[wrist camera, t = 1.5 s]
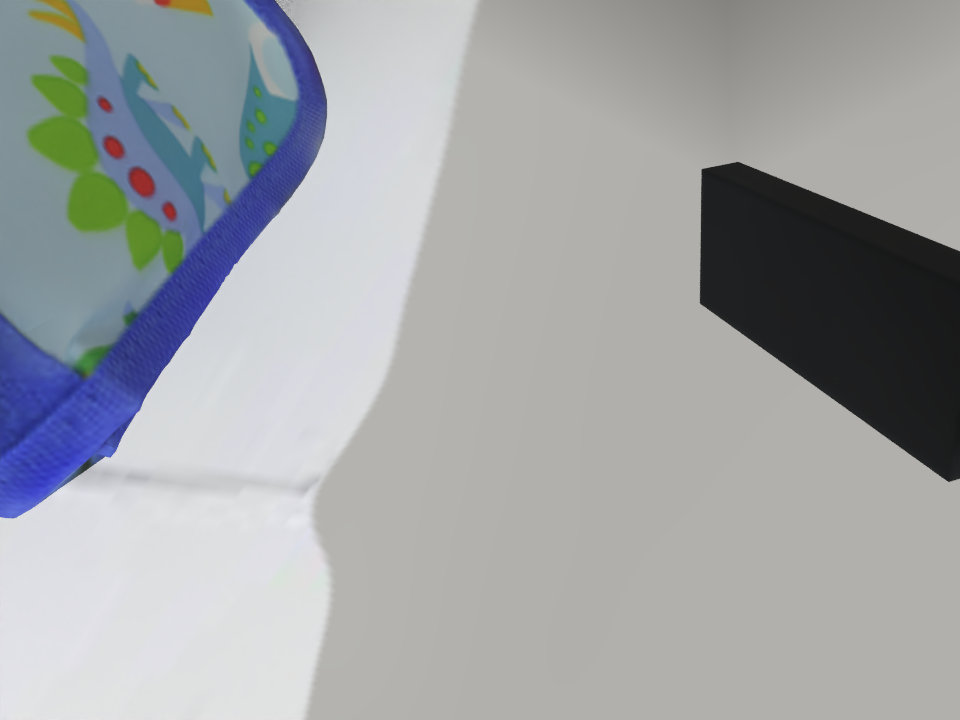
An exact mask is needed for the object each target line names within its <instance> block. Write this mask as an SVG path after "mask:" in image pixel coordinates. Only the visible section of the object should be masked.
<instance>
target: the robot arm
mask: <svg viewBox="0 0 960 720" xmlns="http://www.w3.org/2000/svg"><path fill="white" fill-rule="evenodd" d="M701 186H702V187H701V263H700V266H701V267H700V268H701V269H700V304H701V305H703V306H704V307H706V308H707V309H709V310H710V311H711V312H713V313H714V314H716V315H717V316H718V317H720V318H721V319H722V320H724V321H725V322H727V323H728V324H729V325H731V326H732V327H733V328H735V329H736V330H738V331H739V332H741V333H742V334H743V335H745V336H746V337H747V338H749V339H750V340H752V341H753V342H754V343H756V344H757V345H759V346H760V347H762V348H763V349H764V350H766V351H767V352H768V353H770V354H771V355H773V356H774V357H775V358H777V359H778V360H779V361H781V362H782V363H784V364H785V365H786V366H788V367H789V368H791V369H792V370H793V371H795V372H796V373H797V374H799V375H801V376H802V377H803V378H804V379H806V380H807V381H809V382H810V383H811V384H813V385H814V386H816V387H817V388H819V389H820V390H821V391H823V392H824V393H826V394H827V395H828V396H830V397H831V398H832V399H834V400H835V401H837V402H838V403H839V404H841V405H842V406H844V407H845V408H846V409H848V410H849V411H850V412H852V413H853V414H855V415H856V416H857V417H859V418H860V419H862V420H863V421H865V422H866V423H867V424H869V425H870V426H871V427H873V428H874V429H876V430H877V431H878V432H880V433H881V434H882V435H884V436H885V437H887V438H888V439H890V440H891V441H892V442H894V443H895V444H896V445H898V446H899V447H901V448H902V449H904V450H905V451H906V452H907V453H909V454H910V455H912V456H913V457H914V458H916V459H917V460H919V461H920V462H921V463H923V464H924V465H926V466H927V467H929V468H930V469H931V470H933V471H934V472H935V473H937V474H939V475H940V476H941V477H942V478H944V479H945V480H947V481H948V482H950V481H953V480H956V479H960V251H957V250H955V249H952V248H950V247H948V246H945V245H942V244H940V243H938V242H935V241H933V240H930V239H928V238H925V237H923V236H920V235H918V234H915V233H913V232H910V231H908V230H905V229H903V228H900V227H898V226H895V225H893V224H891V223H888V222H885V221H883V220H880V219H878V218H876V217H873V216H871V215H868V214H866V213H863V212H861V211H858V210H856V209H853V208H851V207H848V206H846V205H844V204H841V203H839V202H836V201H834V200H831V199H829V198H826V197H824V196H821V195H819V194H816V193H813V192H811V191H809V190H806V189H804V188H801V187H799V186H797V185H794V184H791V183H789V182H786V181H783V180H782V179H779V178H777V177H774V176H772V175H769V174H767V173H764V172H762V171H759V170H757V169H754V168H752V167H749V166H747V165H744V164H742V163H740V162H736V163H730V164H725V165H721V166H715V167H710V168H705V169H702V185H701Z"/></svg>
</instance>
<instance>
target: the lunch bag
mask: <svg viewBox="0 0 960 720" xmlns="http://www.w3.org/2000/svg"><path fill="white" fill-rule="evenodd" d="M326 119H327V99H326V94H325V90H324V86H323V83H322V79H321V76H320V73H319V70H318V67H317V65H316V62H315V60H314V57H313V55H312V52H311V50H310V49H309V47H308V45H307V44H306V42H305V40H304V39H303V37H302V35H301V34H300V32H299V30H298V29H297V27H296V26H295V25H294V24H293V22H292V21H291V20H290V19H289V17H288V16H287V15H286V14H285V12H284V11H283V10H282V9H281V7H280V6H279V5H278V4H277V2H276V1H275V0H0V517H3V518H16V517H18V516H19V515H21V514H23V513H25V512H26V511H28V510H30V509H32V508H33V507H35V506H36V505H37V504H39V503H40V502H42V501H43V500H44V499H46V498H47V497H48V496H50V495H51V494H53V493H54V492H55V491H57V490H58V489H59V488H61V487H62V486H64V485H65V484H67V483H68V482H70V481H71V480H73V479H74V478H76V477H77V476H78V475H80V474H81V473H83V472H84V471H86V470H87V469H89V468H90V467H91V466H93V465H94V464H96V463H97V462H98V461H100V460H101V459H103V458H104V457H105V456H106V457H111V456H112V455H113V454H114V453H115V451H116V450H117V447H118V445H119V442H120V440H121V438H122V436H123V434H124V432H125V431H126V429H127V428H128V426H129V424H130V423H131V421H132V419H133V418H134V416H135V415H136V413H137V412H138V411H139V410H140V408H141V406H142V403H143V401H144V399H145V397H146V395H147V393H148V392H149V390H150V389H151V388H152V386H153V385H154V383H155V382H156V380H157V378H158V377H159V375H160V374H161V372H162V370H163V369H164V368H165V367H166V366H167V365H168V364H169V362H170V360H171V359H172V357H173V356H174V354H175V353H176V351H177V350H178V348H179V347H180V346H181V344H182V343H183V341H184V340H185V339H186V338H187V337H188V336H189V335H190V333H191V331H192V329H193V327H194V325H195V323H196V322H197V320H198V319H199V317H200V316H201V315H202V313H203V312H204V310H205V309H206V307H207V306H208V304H209V303H210V301H211V300H212V298H213V297H214V295H215V294H216V293H217V291H218V290H219V288H220V286H221V284H222V283H223V282H224V280H225V277H226V276H228V275H229V273H230V271H231V269H232V268H233V266H234V264H236V263H238V261H239V259H240V258H241V256H242V255H243V254H244V253H245V251H246V250H247V249H248V248H249V246H250V245H251V244H252V243H253V242H254V241H255V239H256V238H257V237H258V236H259V234H260V233H261V232H262V231H263V230H264V228H265V227H266V226H267V225H268V224H269V222H270V221H271V220H272V219H273V218H274V217H275V216H276V215H277V214H279V212H280V210H281V208H282V207H283V206H284V205H285V203H286V202H287V201H288V200H289V199H290V198H291V196H292V195H293V193H294V192H295V190H296V189H297V188H298V186H299V185H300V184H301V182H302V181H303V179H304V178H305V176H306V174H307V172H308V171H309V169H310V167H311V166H312V164H313V162H314V160H315V158H316V156H317V154H318V151H319V149H320V146H321V144H322V141H323V139H324V133H325V127H326Z"/></svg>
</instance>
